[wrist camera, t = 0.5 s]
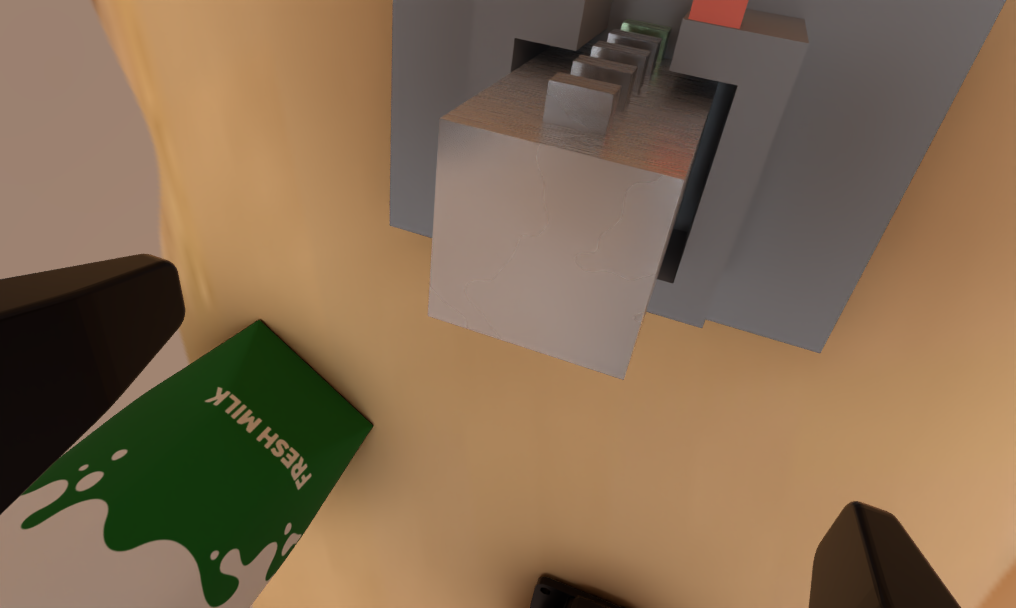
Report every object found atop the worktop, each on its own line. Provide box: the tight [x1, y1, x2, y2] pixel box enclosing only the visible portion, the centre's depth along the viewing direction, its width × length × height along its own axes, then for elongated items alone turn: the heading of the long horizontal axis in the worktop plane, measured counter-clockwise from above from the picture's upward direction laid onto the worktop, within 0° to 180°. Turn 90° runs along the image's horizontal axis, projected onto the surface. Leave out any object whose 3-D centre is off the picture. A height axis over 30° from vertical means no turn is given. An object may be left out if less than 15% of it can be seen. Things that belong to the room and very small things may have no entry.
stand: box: [390, 0, 1006, 353], centre depth 16 cm, size 10×14×4 cm
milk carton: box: [0, 320, 373, 608], centre depth 22 cm, size 9×9×20 cm
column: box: [428, 19, 719, 380], centre depth 14 cm, size 5×4×8 cm
